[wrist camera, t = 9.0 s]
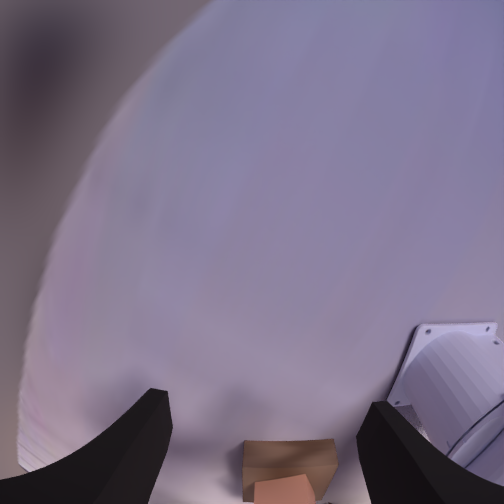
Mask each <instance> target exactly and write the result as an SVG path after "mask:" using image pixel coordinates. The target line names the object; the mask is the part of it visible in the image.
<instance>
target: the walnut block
mask: <svg viewBox="0 0 504 504" xmlns="http://www.w3.org/2000/svg"><path fill="white" fill-rule="evenodd" d="M338 465H339V463H338V458H337V453H336V448H335V443H334V439H324V440H307V441H247V440H245V441H244V453H243V464H242V481H243V502H254V489H255V482H260V481H267V480H274V479H280V478H286V477H292V476H297V475H302V474H306V476H307V478H308V480H309V482H310V484H311V486H312V488H313V490H314V494H315V501H318V500H322V498H323V496H324V494H325V492H326V490H327V488H328V486H329V484H330V482H331V480H332V478H333V476H334V474H335V472H336V469H337V467H338Z"/></svg>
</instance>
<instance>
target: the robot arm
mask: <svg viewBox="0 0 504 504" xmlns="http://www.w3.org/2000/svg"><path fill="white" fill-rule="evenodd" d="M497 327H498V325H497V323H495V322H482V323H455V324H421V325H419V326H418V327H417V328H416V330H415V333H414V336H413V339H412V341H411V344H410V347H409V349H408V352H407V354H406V357H405V360H404V362H403V364H402V367H401V369H400V372H399V374H398V376H397V379H396V381H395V383H394V385H393V388H392V390H391V392H390V394H389V396H388V398H387V400H386V401H380V402H372V404H371V407H370V409H369V411H368V413H367V415H366V417H365V420H364V422H363V424H362V426H361V428H360V430H359V432H358V434H357V436H356V439H357V447H358V454H359V460H360V464H361V467H362V471H363V475H364V478H365V482H366V485H367V489H368V493H369V496H370V500H371V504H504V342H502V341H501V340H500V339H499V338H498V337H497V336H496V335H495V332H496V330H497ZM428 329H429V330H428ZM427 330H428V331H427ZM426 331H427V332H426ZM425 332H426V333H425ZM406 405H412V407H413V409H414V410H415V412H416V414H417V416H418V418H419V420H420V422H421V424H422V426H423V428H424V430H425V432H426V434H427V436H428V438H429V440H430V442H431V443H430V442H429V441H428V440H427V439H425V438H424V437H423V436H422V435H421V434H420V433H419V432H418V431H417V430H416V429H415V428H414V427H413V426H412V425H411V424H410V423H409V422H408V421H407V420H406V419H405V418H404V417H403V416H402V415H401V414H400V413H399V412H398V411H397V410H396V409H395V408H394V407H398V406H406ZM172 429H173V425H172V419H171V412H170V405H169V398H168V391H164V390H158V389H153V388H150V389H149V390H148V391H147V392H146V393H145V394H144V395H143V396H142V397H141V398H140V399H139V400H138V401H137V402H136V403H135V404H134V405H133V406H132V407H131V408H130V409H129V410H128V411H127V412H126V413H124V414H123V415H122V416H121V417H120V418H119V419H118V420H117V421H115V422H114V423H113V424H112V425H111V426H110V427H109V428H107V429H106V430H105V431H103V432H102V433H101V434H100V435H98V436H97V437H96V438H94V439H93V440H92V441H90V442H89V443H87V444H86V445H85V446H83V447H81V448H80V449H78V450H77V451H75V452H73V453H72V454H70V455H68V456H66V457H64V458H62V459H61V460H59V461H57V462H55V463H52V464H50V465H48V466H46V467H43V468H40V469H38V470H35V471H32V472H29V473H26V474H24V475H20V476H16V477H11V478H7V479H2V480H0V504H148V501H149V498H150V495H151V493H152V490H153V487H154V485H155V482H156V479H157V477H158V474H159V472H160V469H161V466H162V464H163V461H164V458H165V456H166V453H167V450H168V446H169V442H170V438H171V433H172Z"/></svg>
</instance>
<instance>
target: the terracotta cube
mask: <svg viewBox="0 0 504 504" xmlns="http://www.w3.org/2000/svg"><path fill="white" fill-rule="evenodd" d="M254 504H316V502H315V494H314V490H313V488H312V486H311V484H310V482H309V480H308V478H307V476H306V474H302V475H297V476H292V477H286V478H280V479H274V480H267V481H260V482H255V489H254Z"/></svg>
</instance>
